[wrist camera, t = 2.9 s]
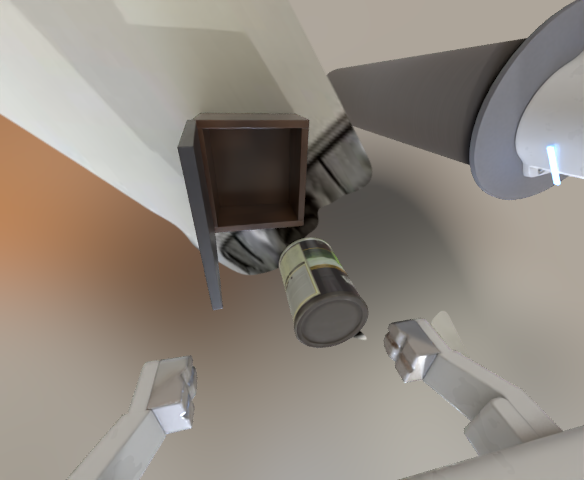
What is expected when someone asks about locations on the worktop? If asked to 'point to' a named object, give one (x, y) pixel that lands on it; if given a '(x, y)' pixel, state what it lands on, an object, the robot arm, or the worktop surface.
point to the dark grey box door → (200, 208)
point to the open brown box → (254, 169)
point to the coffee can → (320, 294)
